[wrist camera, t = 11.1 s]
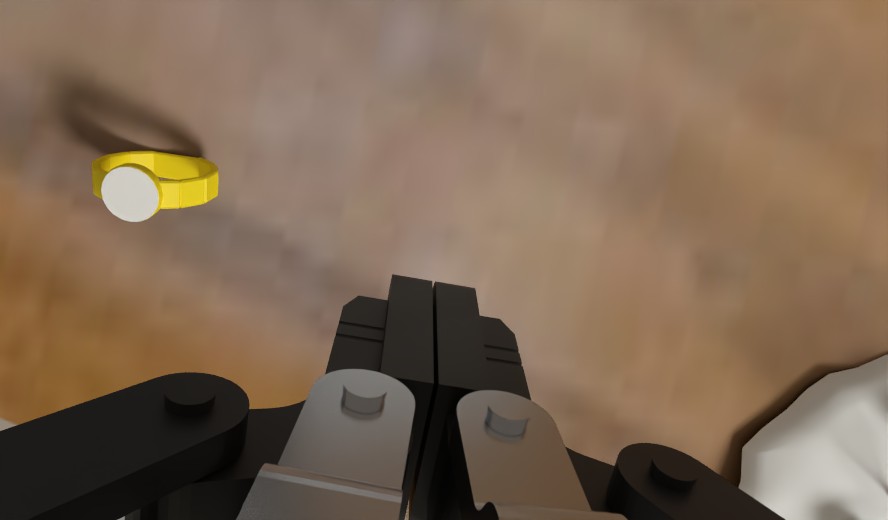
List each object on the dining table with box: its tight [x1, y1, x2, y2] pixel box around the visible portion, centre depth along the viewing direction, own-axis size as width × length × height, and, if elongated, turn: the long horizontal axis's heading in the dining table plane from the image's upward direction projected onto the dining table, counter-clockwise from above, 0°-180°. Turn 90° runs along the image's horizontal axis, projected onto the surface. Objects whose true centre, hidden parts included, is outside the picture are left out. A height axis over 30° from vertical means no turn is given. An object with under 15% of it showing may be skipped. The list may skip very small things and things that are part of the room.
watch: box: [91, 151, 218, 222], centre depth 36 cm, size 6×3×6 cm, turn 82°
